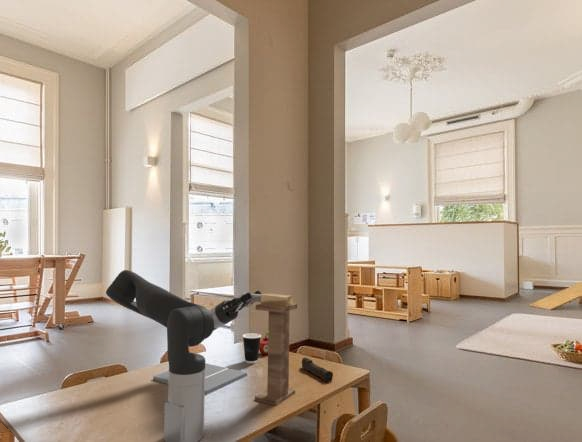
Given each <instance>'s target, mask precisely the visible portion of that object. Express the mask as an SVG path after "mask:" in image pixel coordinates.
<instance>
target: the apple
mask: <svg viewBox="0 0 582 442" xmlns="http://www.w3.org/2000/svg"><path fill="white" fill-rule="evenodd" d="M259 354H262V355H268V330H266V331H265V336H264V337H263V338H262V337H261V338H260V345H259Z"/></svg>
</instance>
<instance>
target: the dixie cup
mask: <svg viewBox="0 0 582 442" xmlns="http://www.w3.org/2000/svg"><path fill="white" fill-rule="evenodd" d="M261 338H262V335H261V333H253V332H252V333H244V334H242V339H243V351H244V360H245V363H246V364H256V363H258V360H259V354H260V351H259V345H260V339H261Z"/></svg>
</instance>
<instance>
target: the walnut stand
mask: <svg viewBox="0 0 582 442" xmlns="http://www.w3.org/2000/svg"><path fill="white" fill-rule="evenodd" d="M296 309H298V303H294V302H293V305H291V306H287V307H285V306H276V305H267V304H261V303H258V304H255V310H257V311H262V312H263V311H266V312H268V324H267V325H268V330H267V331H268V335H267V338H268V354H267V385H266V386H267V388H266V389H267V390H263V392H261V393H259V394H257V395H255V396H254V401H257V402H261V403H265V404H267V405H268V404H269V405H272V406H277V405H279V404H280V403H282V402H283V401H285V400H287V399H288V398H290V397H291V396H293V395H294V394H296V390H295V389H292V388H289V385H290V384H289V381H290V379H289V376H290V372H289V371H290V311H292V310H296Z"/></svg>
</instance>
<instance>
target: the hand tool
mask: <svg viewBox="0 0 582 442" xmlns="http://www.w3.org/2000/svg"><path fill="white" fill-rule="evenodd" d="M301 360H302V361H301V368H302V367H303V368H302V369H303V370H304V369H305V370H306V372H307V371H310V372H309V373H312V374H313V375H315V376H316V377H319V379H320V378H321V379H322V380H323V382H324V383H329V381H330V382H332V381H333V378H334V377H333V376H334V372H332V371H330V370H327V369H326V368H324V367H321V366H320V365H317V364H315V363H314V361H313V360H312V359H310V358H307V357H303V358H301ZM305 370H304V371H305Z"/></svg>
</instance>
